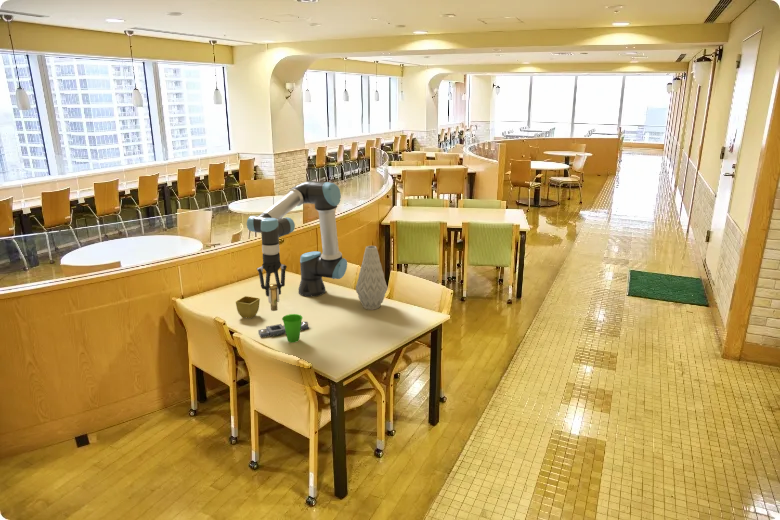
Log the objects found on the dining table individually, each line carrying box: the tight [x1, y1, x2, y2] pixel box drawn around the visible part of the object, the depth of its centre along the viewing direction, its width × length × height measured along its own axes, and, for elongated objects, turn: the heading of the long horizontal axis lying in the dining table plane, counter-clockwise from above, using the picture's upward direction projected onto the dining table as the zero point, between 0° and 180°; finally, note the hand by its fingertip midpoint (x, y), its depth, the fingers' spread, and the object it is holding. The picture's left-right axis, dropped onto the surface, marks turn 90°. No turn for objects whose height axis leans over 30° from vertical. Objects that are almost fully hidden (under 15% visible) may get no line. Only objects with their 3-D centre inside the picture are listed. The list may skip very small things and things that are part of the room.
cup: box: [281, 313, 303, 343], centre depth 240 cm, size 9×9×11 cm
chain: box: [257, 321, 309, 338], centre depth 250 cm, size 23×7×2 cm, turn 117°
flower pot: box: [235, 295, 261, 319], centre depth 266 cm, size 9×9×9 cm
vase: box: [355, 245, 388, 311], centre depth 276 cm, size 17×17×33 cm
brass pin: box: [269, 283, 279, 312], centre depth 244 cm, size 4×4×12 cm
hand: (273, 301), depth 244 cm, fingers closed on brass pin, 3 cm apart
